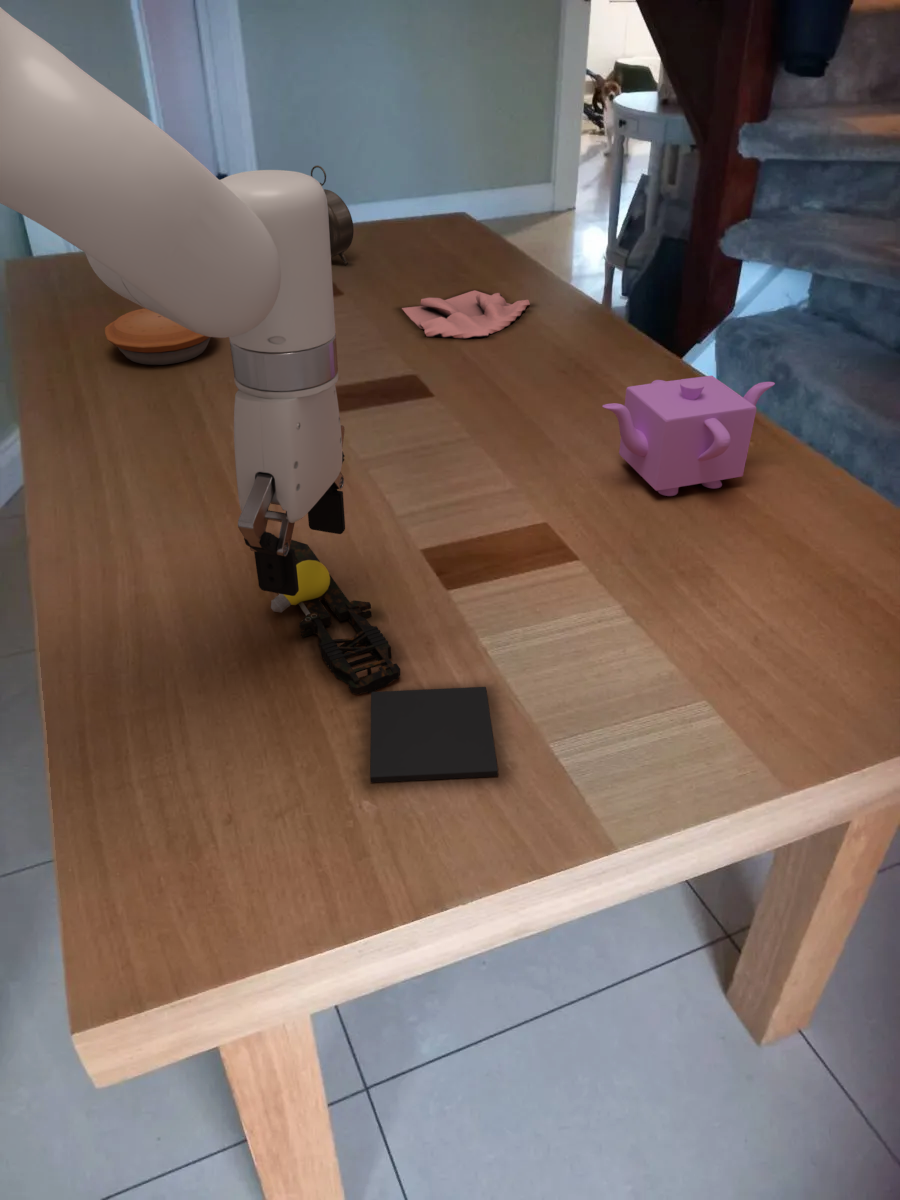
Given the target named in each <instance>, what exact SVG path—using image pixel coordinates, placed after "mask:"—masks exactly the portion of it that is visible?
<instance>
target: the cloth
mask: <svg viewBox="0 0 900 1200" xmlns="http://www.w3.org/2000/svg"><path fill="white" fill-rule="evenodd" d="M530 305H531V303H530V300H529V299H523V300H516V301H515V302H514V303H509V302H507V301H506V299H505V298H504V297H503V295H502V293H500V292H494V293H493V294H488V293H485V292H481V291H478V290H471V291H468V292H465V293H462V294H459V295H456V296H452V297H449V298H447V299H443V298H440V297H425V298H424V297H423V298H421V299H420V305H419V306H409V307H408V306H407V307H401V310H402V312H404V314H405V315H406V316H407V317H408V318H409V320H411V322H413V323H414V324H415V326H417V327H418V328H419V329H421V330H424V334H425V336H426V337H428V338H437V337H439V338H453V339H461V340H465V339H470V338H484V337H489V335H492V334H495V333H497V332H500V331H502V330H503V329H504V330H505V328H506V327H509V326H510V325H511V323H512V322H515V321H516V320H517V318H519V317H521V315H522V313H523V312H524V311H526V308H527V307H528V306H530Z"/></svg>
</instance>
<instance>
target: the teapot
mask: <svg viewBox="0 0 900 1200" xmlns="http://www.w3.org/2000/svg"><path fill="white" fill-rule="evenodd" d="M775 385H776V382H774V381H761V382H758V383H756V384H754V385H753V386H752V387H750V388H749V389H748V390H747V392H746V393H745V394H744V396H742V395H740V394H739V393H737V392H736V391H735V390H733V389H732V388H730V387H729V386H727V385H726V384H725V383H724V382H722V381H720V380H719V379H718V378H716V377H714V375H705V376H696V377H690V378H682V379H674V380H668V381H666V380H664V379H655V380H653V381H651V383H644V384H637V385H631V386H627V387H626V389H625V397H624V404H623V403H622V404H621V403H616V402H615V403H612V402H611V403H605V404H602V406H601V407H602V408H604V409H605V410H608V411H610V412H612V413H613V414H614V415H615V417H616V418H617V422H618V428H619V434H620V440H619V441H620V442H619V449H618V450H619V451H618V455H619V456H620V457H621V458H622V459H623V460H624V461H625V462H626V463H627V464H628V465H629V466H630V467H631V468H632V469H633V470H634V471H635V472H636V473H637V474H638V475H639V476H640V477H642V479H643V480H644V481H645V482H646V483H647V484H648V485H649V486H651V488H652V489H654V491H656V492H657V493H658V494H660V495H662V496H665V497H666V496H667V497H673V496H677V494H679V489H680V488H681V487H687V486H688V487H689V486H694V485H699V484H701V485H702V486H703V487H705V488H708V489H719V488H721V487H722V486H723V483H722V481H723V480H724V481H725V480H729V479H730V480H731V479H733V478H735V479H736V478H741V477H744V474H745V473H744V472H745V468H746V463H747V457H748V453H749V448H750V443H751V438H752V433H753V429H754V423H755V418H756V414H757V409H758V408H757V406H756V405H757V404H758V401H759V400H760V398H761V396H762V395H764V393H765V392H767V391H768V390H769V389H770V388H772V387H774V386H775Z"/></svg>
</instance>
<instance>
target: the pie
mask: <svg viewBox="0 0 900 1200" xmlns="http://www.w3.org/2000/svg"><path fill="white" fill-rule="evenodd" d="M104 335H105V337H106V340H107V341H108V342H109V343H111V344H112V345H113V346H115V347H117V349H118V350H119V351H120V352H121V353H122V354H123V355H124V356H125V357H126V359H127V360H129V361H132V362H133V363H137V364H141V365H148V366H166V365H174V364H180V363H183V362H187V361H190V360H192V359H195V358H197V357H199V356H200V355H202V354H203V353H204V352H205V350H206V349H207V347H208V345H209V342H210V341H211V338H212V337H208V336H204V335H201V334H198V333H195V332H193V331H191V330H189V329H187V328H185V327H183V326H181V325H179V324H177V323H176V322H174V321H172V320H170V319H168V318H166V317H164V316H162V315H160V314H157V313H155V312H153V311H150V310H148V309H146V308H144V307H142V308H138V309H134V310H131V311H129V312H126V313H124V314H122V315H120V316H119V317H118V318H117V319H116V320H114V321H111V322H110V323H109V324H108V325H107V326H105V327H104Z"/></svg>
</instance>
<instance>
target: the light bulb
mask: <svg viewBox="0 0 900 1200" xmlns="http://www.w3.org/2000/svg"><path fill="white" fill-rule="evenodd" d="M320 562H321V561H320ZM320 562H318V561H315V560H306V561H302V562H300V563H298V564H297V565H296V567H297V576H298V586H299V591H298V592H297V594H296V595H295V596H290V595H285V594H279V593H278V595H276V596H275V597H274V598H273V599H271V601H270V602H271V604H270V609H271V610H272V611H273V612H274V613H283V612H284V611H285V610H287V609H288V608H289V607H291V606H296V605H299V604H298V603H300V602H302V601H307V600H311V599H315V598H318V597H320V596H322V595H323V594H324V593H325V592H326V591H327V589H328V587H329V585H330V576H331V575H330V576H329V574H330V571H329V569H328V568H327V567H326V566H325V565H324V564H323V562H321V563H320Z"/></svg>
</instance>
